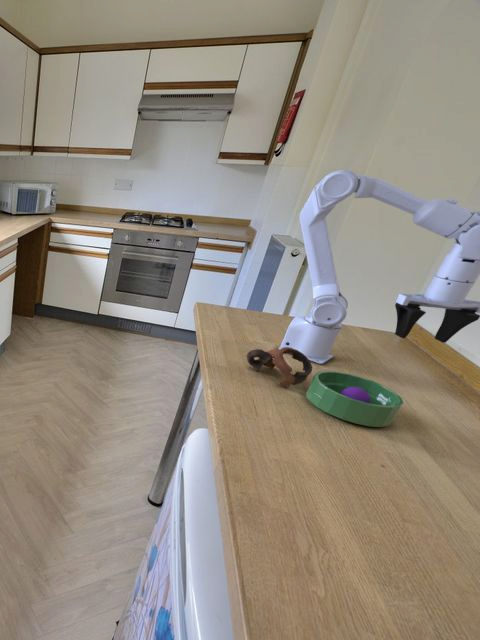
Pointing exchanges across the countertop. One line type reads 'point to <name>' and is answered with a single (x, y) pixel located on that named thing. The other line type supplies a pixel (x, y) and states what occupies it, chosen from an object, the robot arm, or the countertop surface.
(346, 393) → the ball
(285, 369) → the brown curved loop
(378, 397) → the bowl
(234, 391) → the countertop surface
